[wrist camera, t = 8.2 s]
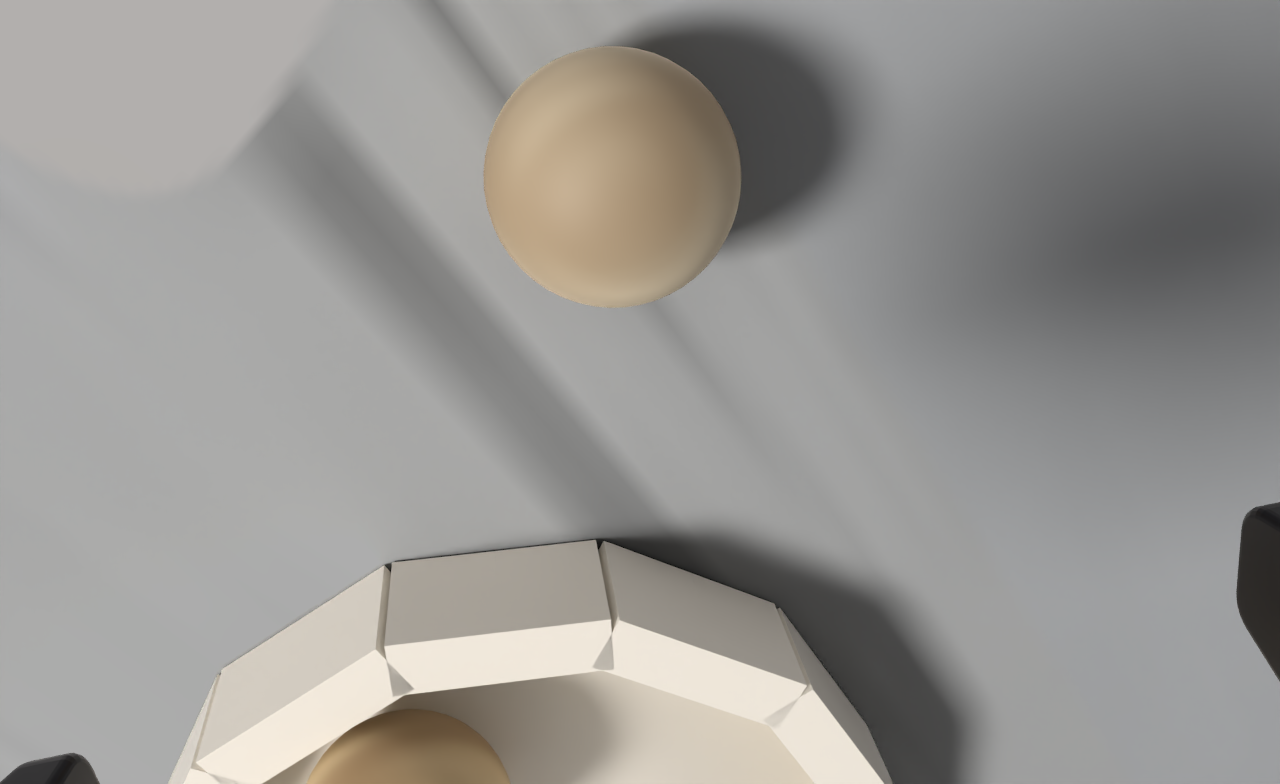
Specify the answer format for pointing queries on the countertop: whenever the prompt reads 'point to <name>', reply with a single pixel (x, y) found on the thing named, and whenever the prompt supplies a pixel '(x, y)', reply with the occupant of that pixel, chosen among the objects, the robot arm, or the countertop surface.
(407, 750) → the oak bead
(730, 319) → the countertop surface
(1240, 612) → the robot arm
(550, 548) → the groove tray
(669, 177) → the maple bead
